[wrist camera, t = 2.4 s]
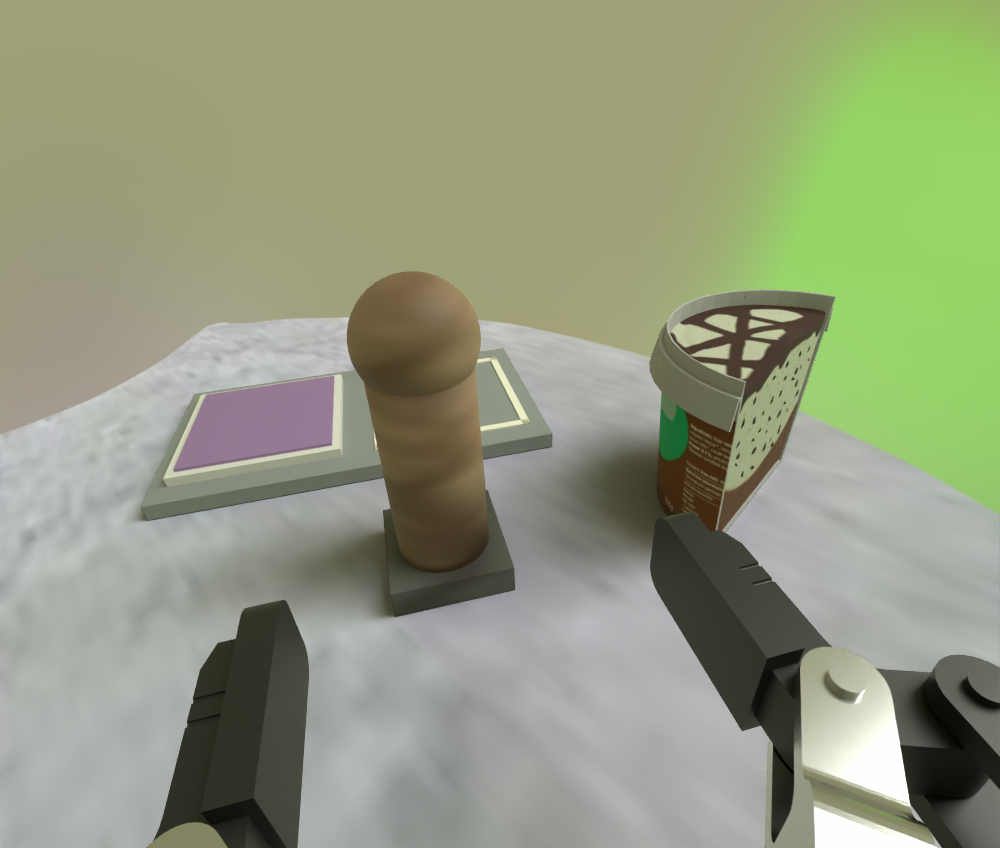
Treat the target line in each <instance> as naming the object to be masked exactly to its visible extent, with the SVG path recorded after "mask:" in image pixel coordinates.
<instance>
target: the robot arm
mask: <svg viewBox="0 0 1000 848" xmlns="http://www.w3.org/2000/svg"><path fill="white" fill-rule="evenodd" d="M650 570H651V576H652V580H653V583H654V586H655V588H656V590H657V592H658V594H659V596H660V597H661V599H662V601H663V602H664V604H665V606H666V607H667V609H668V611H669V612H670V614H671V615H672V617H673V619H674V620H675V622H676V624H677V625H678V627H679V629H680V630H681V632H682V633H683V635H684V637H685V638H686V640H687V642H688V643H689V645H690V647H691V648H692V650H693V652H694V653H695V655H696V656H697V658H698V660H699V661H700V663H701V665H702V666H703V668H704V670H705V671H706V673H707V674H708V676H709V678H710V679H711V681H712V683H713V684H714V686H715V688H716V689H717V691H718V692H719V694H720V696H721V697H722V699H723V701H724V702H725V704H726V706H727V707H728V709H729V710H730V712H731V714H732V715H733V717H734V719H735V720H736V722H737V724H738V725H739V727H740V729H741V730H742V731H744V730H747V729H751V728H754V727H757V726H762V728H763V729H764V731H765V732H766V734H767V736H768V737H769V739H770V740H769V742H768V752H767V787H766V822H765V848H936V846H935V843H934V840H933V837H932V835H933V836H934V837H935V839H936V840H937V841H938V843H939V844H940V846H941V847H942V848H1000V668H999V667H997V666H995V665H993V664H991V663H989V662H987V661H984V660H982V659H979V658H975V657H972V656H966V655H950V656H947V657H944V658H942V659H941V660H940V661H939V662H938V663H937V664H936V666H935V667H934V669H933V671H932V672H931V673H929V672H914V671H899V670H884V669H877V668H874V667H873V666H872V665H871V664H869V663H868V662H867V661H865V660H864V659H862V658H861V657H859V656H857V655H855V654H853V653H851V652H849V651H846V650H843V649H839V648H835V647H832V646H831V645H830V644H828V642H827V641H826V640H825V639H824V638H823V637H822V636H821V635H820V634H819V633H818V631H817V630H816V629H815V628H814V627H813V626H812V624H811V623H810V622H809V621H808V620H807V619H806V617H805V616H804V615H803V614H802V613H801V612H800V610H799V609H798V608H797V607H796V606H795V605H794V603H793V602H792V601H791V600H790V599H789V598H788V596H787V595H786V594H785V593H784V592H783V591H782V590H781V588H780V587H779V586H778V585H777V584H776V583H775V582H773V581H772V579H771V577H770V576H769V574H768V573H767V572H766V571H765V570H764V569H763V567H762V566H759V565H758V562H757V560H756V559H755V558H754V557H753V556H752V555H751V553H750V552H749V551H748V550H747V549H746V548H745V546H744V545H743V544H742V543H740V542H739V541H737V540H735V539H734V538H732V537H731V536H729V535H728V534H726V533H725V532H723V531H721V530H715V531H711V532H710V531H709V529H708V528H707V527H706V526H705V524H704V523H703V522H702V521H701V520H700V518H699V517H698V516H697V515H696V514H695V513H693V512H685V513H681V514H676V515H672V516H667V517H662V518H659V519H658V520H657V522H656V525H655V533H654V540H653V548H652V556H651V563H650ZM308 682H309V664H308V656H307V651H306V647H305V644H304V642H303V639H302V637H301V635H300V632H299V630H298V627H297V625H296V623H295V620H294V618H293V615H292V613H291V611H290V608H289V606H288V604H287V602H286V601H285V600H281V601H276V602H272V603H267V604H263V605H258V606H253V607H249V608H245V609H244V610H243V611H242V614H241V617H240V622H239V627H238V631H237V636H236V639H233V640H229V641H225V642H220V643H218V644H217V645H216V647H215V648H214V650H213V651H212V653H211V654H210V656H209V657H208V659H207V660H206V662H205V663H204V665H203V666H202V668H201V669H200V672H199V676H198V680H197V684H196V688H195V692H194V696H193V704H191V708H190V712H189V716H188V720H187V724H188V725H187V728H185V731H184V735H183V739H182V743H181V747H180V751H179V755H178V759H177V763H176V767H175V771H174V775H173V778H172V782H171V786H170V790H169V794H168V798H167V802H166V806H165V810H164V814H163V818H162V821H161V824H160V827H159V829H158V832H157V834H156V836H155V838H154V840H153V842H152V843H150V844H149V845H148V846H147V847H146V848H297V845H298V831H299V816H300V801H301V786H302V771H303V756H304V742H305V727H306V712H307V697H308ZM910 804H911V806H912V807H913V808H914V810H915V811H916V812H917V814H918V815H919V817H920V818H921V819H922V821H923V822H924V823H925V824H924V823H923V822H920V821H918V820H916V819H915V818H914V816H913V814H912V811H911V808H910ZM929 830H930V831H929ZM931 833H932V835H931Z"/></svg>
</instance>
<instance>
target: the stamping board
mask: <svg viewBox="0 0 1000 848" xmlns="http://www.w3.org/2000/svg"><path fill="white" fill-rule="evenodd" d="M475 369H476V381H477V393H478V405H479V418H480V430H481V442H482V455H483V459H486V458H492V457H497V456H502V455H508V454H513V453H519V452H524V451H530V450H535V449H541V448H546V447H552V432H551V431H550V429H549V427H548V425H547V424H546V422H545V420H544V418H543V417H542V415H541V413H540V412H539V410H538V408H537V406H536V405H535V403H534V401H533V399H532V398H531V396H530V394H529V392H528V391H527V389H526V387H525V385H524V384H523V382H522V380H521V379H520V377H519V375H518V373H517V372H516V370H515V368H514V366H513V365H512V363H511V361H510V359H509V358H508V356H507V354H506V353H505V351H504V349H503V348H502V349H496V350H489V351H482V352H480V353H479V357H478V360H477V364H476V366H475ZM382 477H384V475H383V470H382V466H381V461H380V456H379V452H378V447H377V442H376V438H375V433H374V428H373V424H372V419H371V414H370V410H369V405H368V400H367V396H366V391H365V386H364V382H363V380H362V379H361V378H360V376H359V375H358V373H357V372H356V370H354V371H347V372H340V373H334V374H327V375H320V376H313V377H307V378H300V379H293V380H286V381H280V382H273V383H266V384H259V385H253V386H246V387H239V388H232V389H226V390H219V391H212V392H205V393H199V394H194V395H193V398H192V400H191V402H190V404H189V406H188V408H187V410H186V412H185V414H184V416H183V419H182V421H181V423H180V425H179V427H178V429H177V431H176V433H175V435H174V438H173V440H172V442H171V444H170V446H169V448H168V450H167V452H166V454H165V456H164V459H163V461H162V463H161V465H160V467H159V469H158V471H157V473H156V475H155V478H154V480H153V482H152V484H151V486H150V488H149V490H148V492H147V494H146V497H145V499H144V501H143V503H142V505H141V509H142V511H143V513H144V515H145V516H146V518H147V520H153V519H158V518H164V517H169V516H175V515H180V514H185V513H191V512H196V511H202V510H207V509H213V508H218V507H224V506H229V505H235V504H240V503H246V502H251V501H257V500H262V499H267V498H273V497H278V496H284V495H289V494H295V493H300V492H306V491H311V490H317V489H322V488H328V487H333V486H339V485H344V484H349V483H355V482H360V481H366V480H371V479H377V478H382Z"/></svg>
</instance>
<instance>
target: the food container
mask: <svg viewBox="0 0 1000 848" xmlns="http://www.w3.org/2000/svg"><path fill="white" fill-rule="evenodd" d="M834 300H835V296H830V295H824V294H819V293H810V292H802V291H790V290H765V289H764V290H763V289H762V290H761V289H760V290H739V291H729V292H723V293H717V294H711V295H707V296H703V297H700V298H697V299H694V300H691V301H689V302H687V303H685V304H683V305H681V306H680V307H679V308H677V309H676V310H675V311H673V313H672V314H671V316H670V317H669V319H668V322H667V323H666V324H665V325H664V326H663V328H662V329H661V331H660V334H659V337H658V339H657V342H656V345H655V347H654V350H653V353H652V356H651V359H650V373H651V375H652V377H653V380H654V382H655V383H656V385H657V386H658V387H659V389H660V390H661V391H662V394H661V415H660V436H659V457H658V479H657V492H658V498H659V501H660V504H661V506H662V508H663V510H664V512H665V513H666V515H667V516H672V515H676V514H681V513H685V512H693V513H695V514H696V515H697V516H698V517H699V518H700V520H701V521H702V522H703V523H704V524H705V526H706V527H707V528H708V529H709V531H710V532H711V531H715V530H721V531H723V532H725V533H726V532H727V530H728V529H729V528H730V527H731V525H732V524H733V523H734V521H735V520H736V519H737V518H738V516H739V515H740V514H741V512H742V511H743V510H744V509H745V507H746V506H747V505H748V503H749V502H750V501H751V500H752V498H753V497H754V496H755V494H756V493H757V492H758V491H759V489H760V488H761V487H762V485H763V484H764V483H765V482H766V480H767V479H768V478H769V476H770V475H771V474H772V473H773V471H774V470H775V469H776V467H777V466H778V465H779V464H780V462H781V460H782V457H783V454H784V451H785V448H786V445H787V442H788V439H789V436H790V433H791V430H792V427H793V424H794V421H795V418H796V415H797V412H798V409H799V406H800V403H801V400H802V397H803V394H804V391H805V388H806V385H807V382H808V379H809V376H810V373H811V370H812V367H813V364H814V361H815V358H816V355H817V352H818V349H819V346H820V343H821V340H822V337H823V334H824V331H827V329H828V326H829V322H830V319H831V314H832V311H833V304H834Z"/></svg>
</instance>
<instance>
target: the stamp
mask: <svg viewBox="0 0 1000 848" xmlns="http://www.w3.org/2000/svg"><path fill="white" fill-rule="evenodd" d="M347 345H348V351H349V355H350V358H351V361H352V364H353V366H354V368H355V370H356V372H357V373H358V375H359V376H360V378H361V379H362V380H363V382H364V386H365V391H366V396H367V400H368V405H369V410H370V414H371V419H372V424H373V428H374V433H375V438H376V442H377V447H378V452H379V456H380V461H381V466H382V470H383V475H384V480H385V484H386V489H387V494H388V498H389V503H390V508H391V509H388V510H383V517H384V528H385V540H386V552H387V563H388V575H389V587H390V596H391V600H392V605H393V609H394V613H395V617H397V616H402V615H406V614H410V613H415V612H419V611H424V610H428V609H432V608H437V607H441V606H446V605H450V604H454V603H459V602H463V601H467V600H472V599H476V598H481V597H485V596H489V595H494V594H498V593H503V592H507V591H511V590H515V577H514V566H513V563H512V560H511V557H510V554H509V552H508V549H507V546H506V543H505V540H504V537H503V534H502V531H501V528H500V525H499V522H498V519H497V516H496V514H495V511H494V508H493V505H492V502H491V499H490V496H489V493H488V490H487V491H485V479H484V467H483V455H482V442H481V430H480V418H479V405H478V393H477V381H476V369H475V366H476V364H477V360H478V357H479V353H480V346H481V334H480V327H479V323H478V320H477V317H476V314H475V312H474V310H473V308H472V306H471V304H470V303H469V301H468V300H467V298H466V297H465V296H464V295H463V294H462V293H461V292H460V291H459V290H458V289H457V288H456V287H455V286H454V285H452V284H450V283H449V282H448V281H446V280H444V279H442V278H440V277H437V276H435V275H432V274H428V273H424V272H401V273H396V274H393V275H389V276H387V277H385V278H383V279H381V280H379V281H377V282H376V283H374V284H373V285H372V286H370V287H369V288H368V289H367V290H366V291H365V292H364V293H363V295H361V297H360V298H359V300H358V301H357V302H356V304H355V306H354V308H353V311H352V313H351V316H350V319H349V322H348V329H347Z"/></svg>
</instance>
